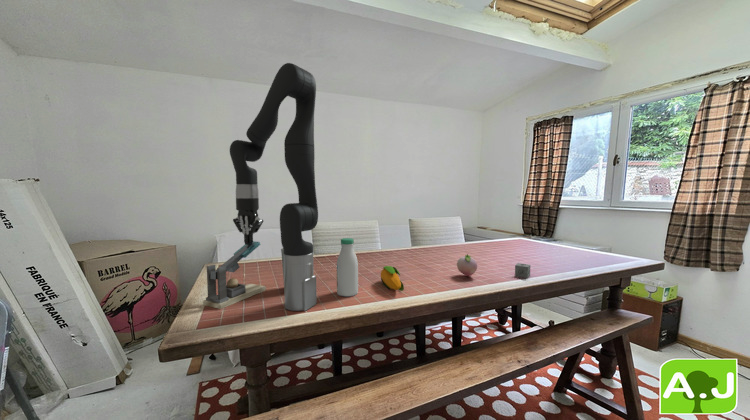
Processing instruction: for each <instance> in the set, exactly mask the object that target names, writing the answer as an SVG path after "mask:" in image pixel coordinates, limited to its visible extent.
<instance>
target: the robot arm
mask: <svg viewBox="0 0 750 420" xmlns="http://www.w3.org/2000/svg"><path fill="white" fill-rule="evenodd" d="M316 94H317V83H316V79H315V77H314V75H313V74H312V73H311V72H309V71H308V70H306V69H304V68H302V67H300V66H298V65H296V64H294V63H291V62H286V63H284V64H282V65H281V67H280V68H279V69H278V71H277V72H276V74H275V76H274V78H273V81H272V83H271V85H270V88H269V90H268V92H267V94H266V97H265V99H264V102H263V104H262V106H261V107H260V111H259V112H258V113H257V115H256V116H255V119H254V120H253V121H252V123H251V124H250V125H249V127H248V128H247V130H246V134H245V135H246V137H247V139H248V140H249V141H247V140H242V139H241V140H240V139H237V140H236V139H235V140H234V141H232V142H231V143H230V146H229V155H230V159H231V162H232V165H233V169H234V172H235V184H236V185H235V210H237V217H236V218H233V219H232V222H233V224H234V225H235V227H236V229H237V231H238V232H239V233H241V234H243V240H244V241H243V243H244V245H251V244H252V243H253V241H254V234H255V233H258V232H259V230H260V228H261V227H262V225H263V223H264V219H263V218H262V219H261V218H260V217H259V213H258V210H260V205H259V204H260V203H259V200H260V199H259V187H258V171H257V170H256V169H255V168H253V167H250V166H249V165H248V163H249V162H252V163H255V162H257V161H259V160H260V159H261V158H262V156H263V154H264V152H265V147H266V144H267V141H269V139H270V138H271V137H272V135H273V134H274V132H275V131H276V129H277V126H278V123H279V111H280V106H281V104H282V103H283V101H284V100H285V99H286V98H287V97H290V98H292V99H294V100H295V117H294V120H293V122H292V124H290V125H291V126H290V127H289V129H288V131H287V133H286V135H285V138H284V142H283V143H284V146H283V147H284V162H285V165H286V168H287V169H288V172H289V174H290V176H291V177H292V179H293V181H294V182H295V185H296V188H297V192H298V202H292V203H291V202H290V203H286V204H284V205H283V206H282V207H281V210H280V213H279V229H280V242H281V246H282V248H283V250H284V279H283V292H284V295H283V296H284V309H286V310H288V311H294V312H296V311H297V312H299V311H304V312H305V311H307V310H309V309H310V308H312V307H314V306H316V305H317V276H316V274H314V244H313V243H312V242H309V241H305V240H304V239H303V235H302V234H303V233H302V232H307V231H312V230H314V229H315V228H316V227H317V224H318V222H319V207H318V199H317V192H316V190H317V189H316V175H315V171H316V170H315V159H316V158H315V156H316V155H315V111H316V110H315V107H316V96H317V95H316ZM247 162H248V163H247Z"/></svg>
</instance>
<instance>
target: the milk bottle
mask: <svg viewBox="0 0 750 420" xmlns="http://www.w3.org/2000/svg"><path fill="white" fill-rule="evenodd" d="M354 244H355V243H354V238H350V237H348V238H346V237H345V238H340V246H341V249H340V252H339V254H338V257H337V261H336V294H337V295H338V296H340V297H353V296H356V295H357V294H358V292H359V265H358V264H359V262H358V261H359V260H358V258H357V255H356V253H355V250H354Z"/></svg>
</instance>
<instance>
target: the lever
mask: <svg viewBox="0 0 750 420" xmlns="http://www.w3.org/2000/svg"><path fill="white" fill-rule="evenodd" d="M259 246H261V242H260V241H255V240H253V243H252V244H251V245H245V244H244V245H243V246H241V247H239V249H238V250H236V251H235V252H234V253H233V255H232V256H231V257H230V258H228V259H227V260H226V261H225V262H223V264H221V265H220V266H219V267H223V266H226V273H227V272H228V273H235V272H236V271H237V270H239V269H240V265H239V262H240V261H241V260H242V259H243V258H247V257H248V256H249V255H250V254H251V253H253V251H255V250H256V249H257V248H258V247H259ZM210 279H215V280H216V281H217V280H218V279H217V268H216V270H215V271H211V276H210Z"/></svg>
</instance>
